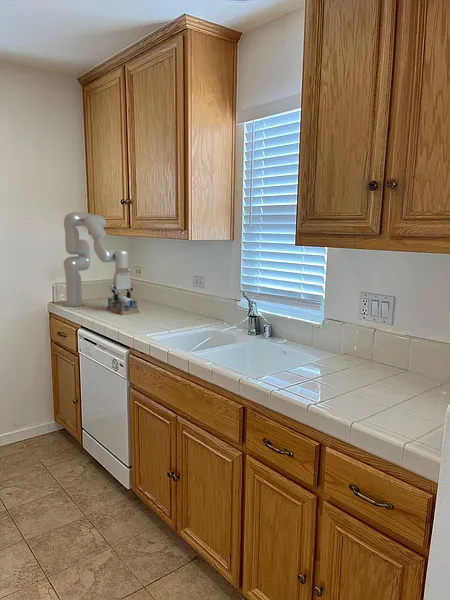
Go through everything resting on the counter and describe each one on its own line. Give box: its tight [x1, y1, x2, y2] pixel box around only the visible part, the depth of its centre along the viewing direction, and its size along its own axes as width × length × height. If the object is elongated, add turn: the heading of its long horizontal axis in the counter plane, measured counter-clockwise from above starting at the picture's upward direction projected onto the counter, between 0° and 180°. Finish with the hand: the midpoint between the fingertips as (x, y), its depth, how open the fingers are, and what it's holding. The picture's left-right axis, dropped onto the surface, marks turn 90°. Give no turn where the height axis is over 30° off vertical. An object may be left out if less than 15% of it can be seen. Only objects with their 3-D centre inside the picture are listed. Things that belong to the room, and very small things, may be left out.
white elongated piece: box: [111, 291, 133, 307], centre depth 278 cm, size 5×7×25 cm
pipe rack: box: [106, 297, 140, 316], centre depth 279 cm, size 21×11×8 cm, turn 40°
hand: (122, 299), depth 278 cm, fingers open, 7 cm apart
